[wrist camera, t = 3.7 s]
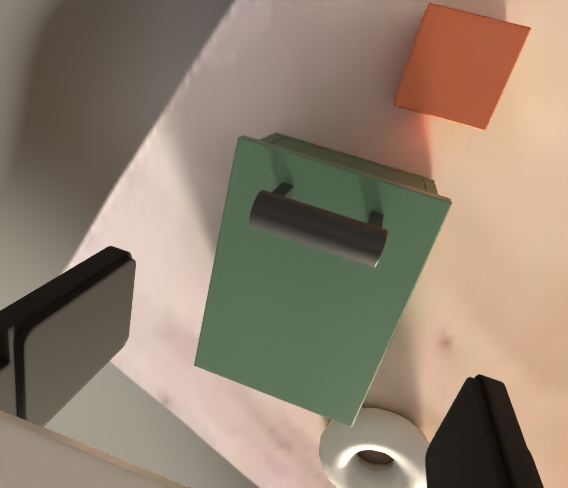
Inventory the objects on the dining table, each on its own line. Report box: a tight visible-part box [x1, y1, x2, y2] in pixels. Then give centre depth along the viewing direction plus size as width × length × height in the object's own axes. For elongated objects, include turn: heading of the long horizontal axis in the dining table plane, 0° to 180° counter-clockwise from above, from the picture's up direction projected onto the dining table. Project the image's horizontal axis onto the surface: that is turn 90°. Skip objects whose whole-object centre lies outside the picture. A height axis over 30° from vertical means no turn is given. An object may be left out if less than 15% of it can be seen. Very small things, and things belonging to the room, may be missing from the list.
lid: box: [194, 135, 452, 427], centre depth 23 cm, size 16×12×6 cm
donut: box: [319, 408, 430, 488], centre depth 37 cm, size 10×3×10 cm
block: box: [394, 3, 531, 131], centre depth 23 cm, size 5×5×5 cm
